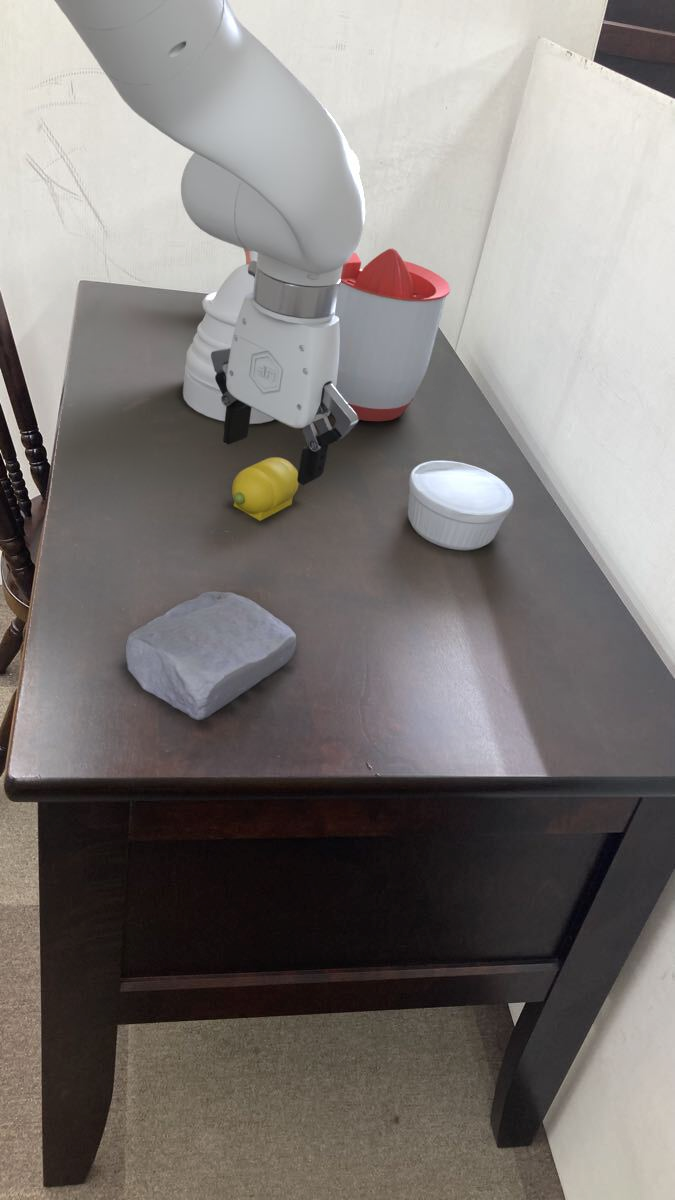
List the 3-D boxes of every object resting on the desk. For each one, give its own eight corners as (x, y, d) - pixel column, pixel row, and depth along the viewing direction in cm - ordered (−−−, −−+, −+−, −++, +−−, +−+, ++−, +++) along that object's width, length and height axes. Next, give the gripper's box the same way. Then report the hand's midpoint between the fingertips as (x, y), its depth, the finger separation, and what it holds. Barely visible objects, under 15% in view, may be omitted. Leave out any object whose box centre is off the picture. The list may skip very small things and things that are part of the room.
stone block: (112, 683, 71) (204, 732, 66) (107, 631, 69) (202, 677, 63) (215, 626, 79) (304, 665, 74) (214, 578, 77) (305, 615, 72)
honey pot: (218, 368, 118) (233, 227, 107) (303, 400, 115) (327, 259, 104) (162, 398, 108) (171, 246, 98) (253, 434, 105) (273, 282, 94)
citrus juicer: (404, 379, 126) (439, 234, 114) (428, 437, 113) (470, 279, 101) (295, 366, 123) (319, 215, 111) (306, 424, 110) (335, 259, 98)
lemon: (251, 531, 89) (257, 489, 86) (215, 510, 90) (219, 469, 88) (309, 499, 95) (316, 460, 93) (274, 481, 97) (281, 441, 94)
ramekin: (443, 490, 102) (455, 450, 99) (520, 539, 97) (535, 497, 94) (378, 516, 95) (388, 473, 92) (456, 569, 90) (470, 526, 87)
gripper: (195, 267, 80) (182, 436, 91) (349, 335, 74) (316, 509, 84) (249, 255, 86) (231, 416, 96) (397, 318, 79) (361, 483, 89)
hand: (271, 459), depth 90 cm, fingers open, 9 cm apart
